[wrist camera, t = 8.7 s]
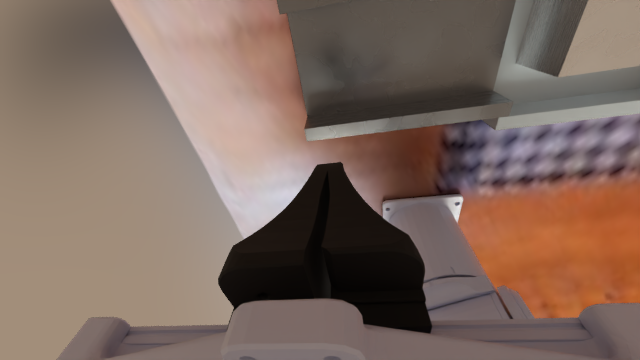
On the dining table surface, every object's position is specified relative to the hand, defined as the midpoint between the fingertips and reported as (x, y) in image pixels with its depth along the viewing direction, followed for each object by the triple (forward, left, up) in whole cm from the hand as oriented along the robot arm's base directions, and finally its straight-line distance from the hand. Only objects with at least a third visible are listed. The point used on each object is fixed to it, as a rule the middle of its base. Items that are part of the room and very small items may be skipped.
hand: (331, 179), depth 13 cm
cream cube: (+4, -15, -9) cm, 18 cm away
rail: (+4, -5, -9) cm, 11 cm away
